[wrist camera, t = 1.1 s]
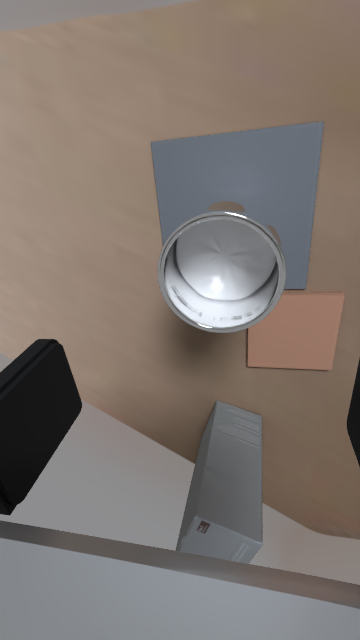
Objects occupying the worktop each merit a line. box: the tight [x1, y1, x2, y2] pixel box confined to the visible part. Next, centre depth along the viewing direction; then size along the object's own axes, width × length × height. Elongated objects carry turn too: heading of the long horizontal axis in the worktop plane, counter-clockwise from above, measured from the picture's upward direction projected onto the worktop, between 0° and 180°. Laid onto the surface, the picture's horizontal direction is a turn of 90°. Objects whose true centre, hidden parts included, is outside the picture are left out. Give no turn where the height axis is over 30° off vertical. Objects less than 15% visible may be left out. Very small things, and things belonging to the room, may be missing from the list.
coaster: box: [248, 293, 345, 370], centre depth 33 cm, size 9×9×1 cm
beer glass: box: [157, 185, 286, 333], centre depth 22 cm, size 7×7×15 cm
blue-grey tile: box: [151, 122, 324, 289], centre depth 29 cm, size 14×14×1 cm
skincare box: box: [176, 401, 263, 564], centre depth 35 cm, size 8×7×16 cm
